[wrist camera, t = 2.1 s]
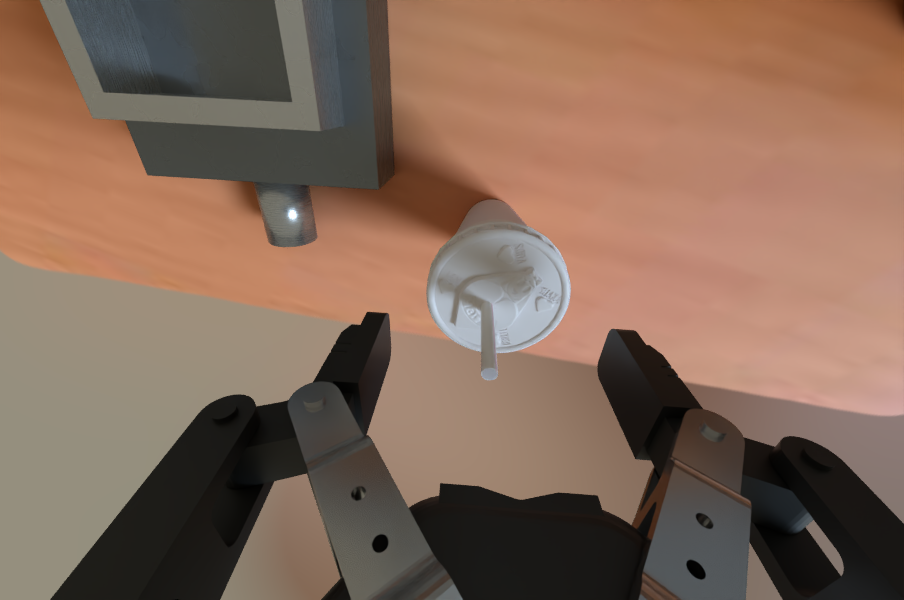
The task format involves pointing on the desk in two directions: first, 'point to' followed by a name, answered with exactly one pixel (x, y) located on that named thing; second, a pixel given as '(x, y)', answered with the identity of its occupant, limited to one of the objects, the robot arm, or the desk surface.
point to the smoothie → (497, 284)
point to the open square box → (242, 92)
